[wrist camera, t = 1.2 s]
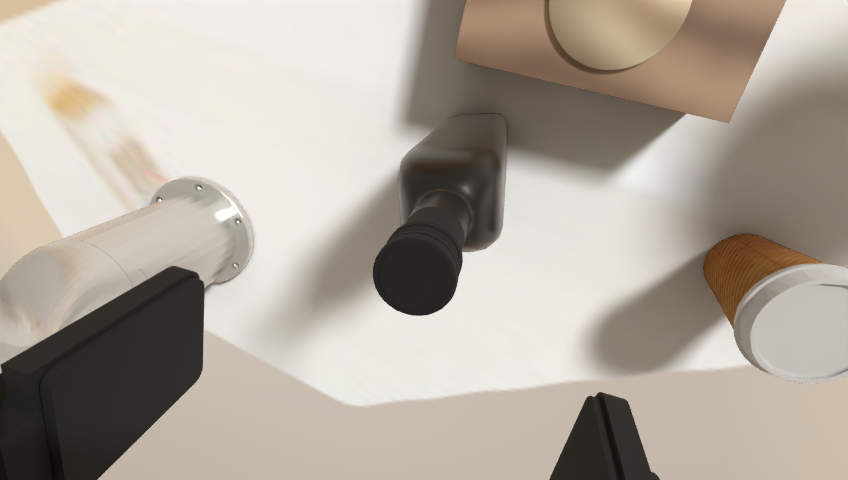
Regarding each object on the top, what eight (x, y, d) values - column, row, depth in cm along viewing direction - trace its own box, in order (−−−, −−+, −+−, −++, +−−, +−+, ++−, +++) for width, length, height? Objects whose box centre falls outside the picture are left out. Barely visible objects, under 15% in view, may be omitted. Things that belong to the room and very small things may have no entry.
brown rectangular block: (688, 112, 39) (731, 123, 31) (463, 60, 41) (452, 59, 33) (756, -47, 34) (826, -79, 27) (500, -98, 36) (496, -142, 29)
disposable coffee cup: (781, 313, 44) (871, 396, 33) (675, 304, 45) (727, 380, 34) (812, 220, 40) (925, 278, 29) (696, 214, 42) (762, 266, 31)
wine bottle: (448, 174, 45) (346, 345, 17) (445, 115, 43) (325, 202, 15) (506, 172, 44) (496, 353, 16) (506, 112, 42) (495, 199, 14)
